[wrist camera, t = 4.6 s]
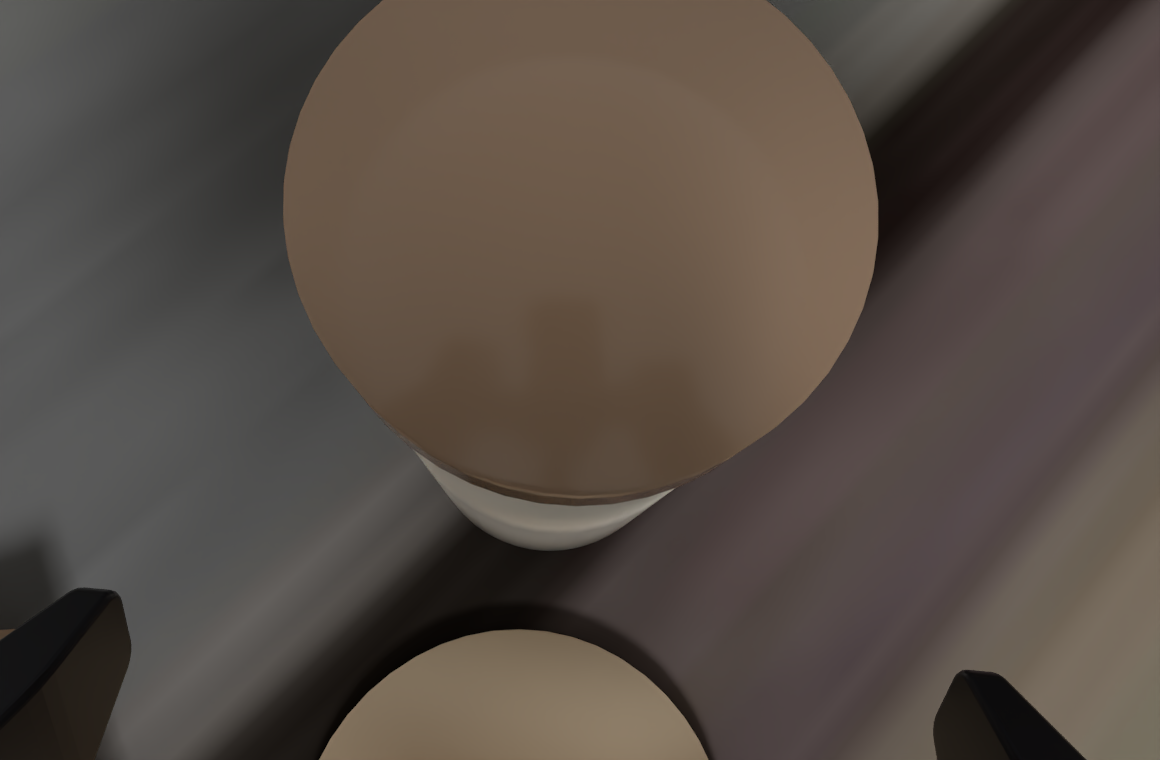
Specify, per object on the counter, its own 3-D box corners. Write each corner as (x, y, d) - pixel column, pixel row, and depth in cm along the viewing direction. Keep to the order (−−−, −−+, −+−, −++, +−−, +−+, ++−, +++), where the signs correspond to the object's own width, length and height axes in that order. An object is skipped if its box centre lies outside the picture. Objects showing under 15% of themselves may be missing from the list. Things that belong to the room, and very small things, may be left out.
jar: (713, 498, 22) (979, 357, 9) (477, 595, 21) (404, 590, 8) (617, 276, 23) (734, -131, 10) (389, 360, 22) (205, 35, 9)
